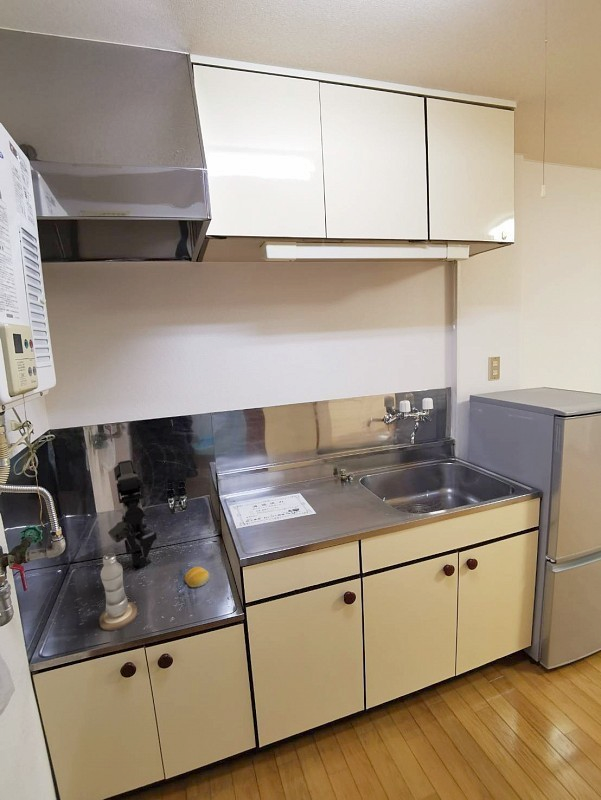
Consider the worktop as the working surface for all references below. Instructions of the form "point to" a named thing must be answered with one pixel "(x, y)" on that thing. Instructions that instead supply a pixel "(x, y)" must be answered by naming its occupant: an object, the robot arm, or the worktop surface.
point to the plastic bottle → (113, 586)
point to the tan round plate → (118, 618)
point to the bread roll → (196, 577)
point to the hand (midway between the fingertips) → (139, 553)
